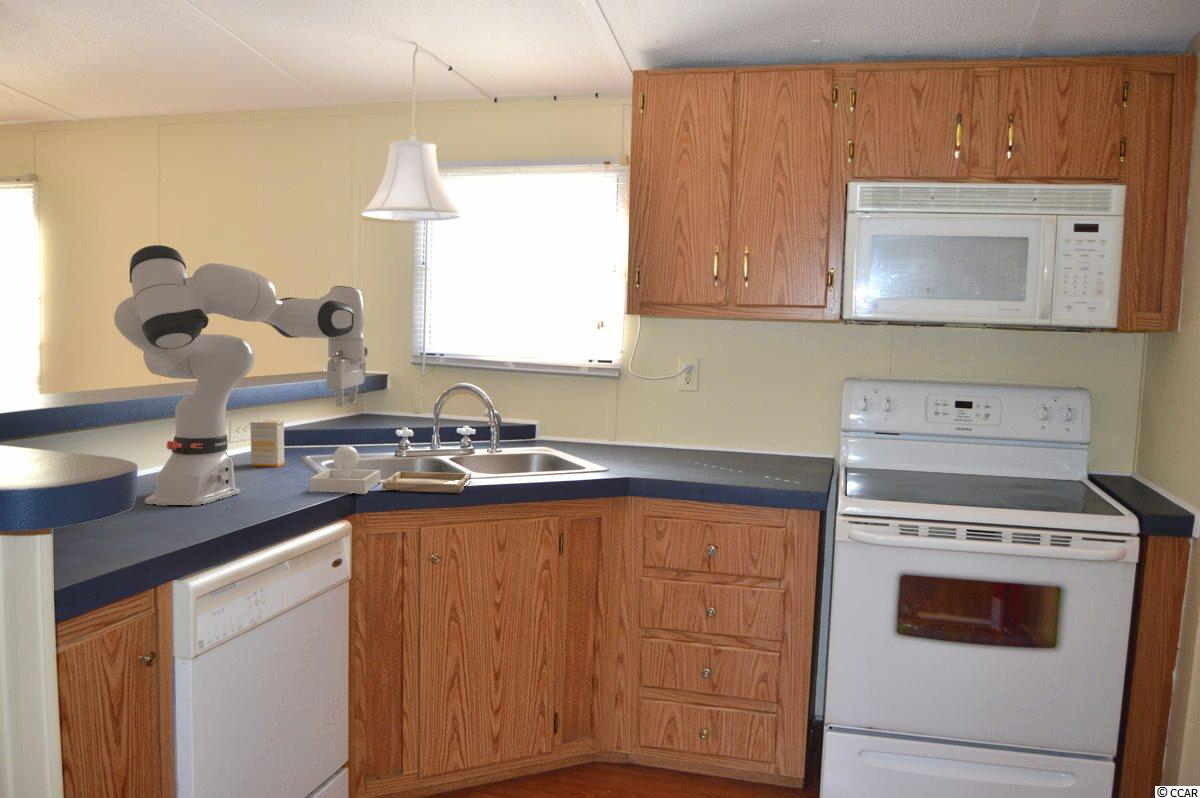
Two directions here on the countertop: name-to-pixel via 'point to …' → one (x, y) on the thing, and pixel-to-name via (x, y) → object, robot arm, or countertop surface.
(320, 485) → the shallow white dish
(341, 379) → the robot arm
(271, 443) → the supplement box
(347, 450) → the lightbulb
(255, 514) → the countertop surface
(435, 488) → the tray
